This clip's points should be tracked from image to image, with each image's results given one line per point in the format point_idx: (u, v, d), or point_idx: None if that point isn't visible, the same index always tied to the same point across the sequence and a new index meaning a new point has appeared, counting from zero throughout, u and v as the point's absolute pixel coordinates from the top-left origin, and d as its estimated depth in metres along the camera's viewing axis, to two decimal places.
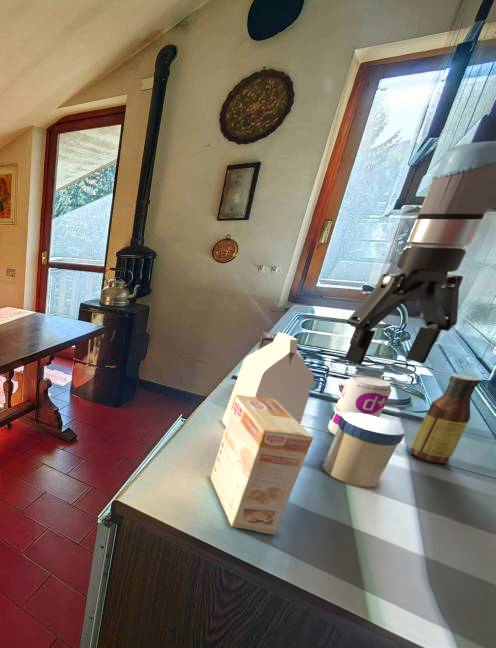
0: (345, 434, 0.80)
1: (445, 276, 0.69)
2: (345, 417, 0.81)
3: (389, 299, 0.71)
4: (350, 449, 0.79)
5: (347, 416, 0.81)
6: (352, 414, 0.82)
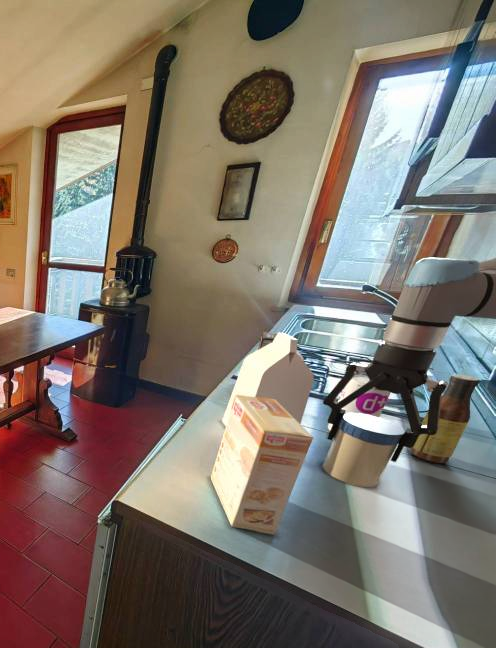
0: (345, 434, 0.80)
1: (421, 376, 0.71)
2: (345, 417, 0.81)
3: (361, 386, 0.79)
4: (350, 449, 0.79)
5: (347, 416, 0.81)
6: (352, 414, 0.82)
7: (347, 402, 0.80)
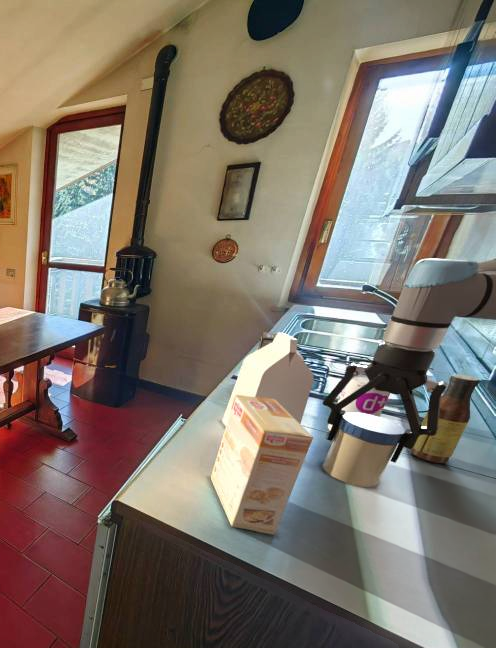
0: (345, 434, 0.80)
1: (420, 377, 0.71)
2: (369, 429, 0.76)
3: (361, 387, 0.79)
4: (350, 449, 0.79)
5: (364, 426, 0.77)
6: (354, 422, 0.79)
7: (347, 403, 0.80)
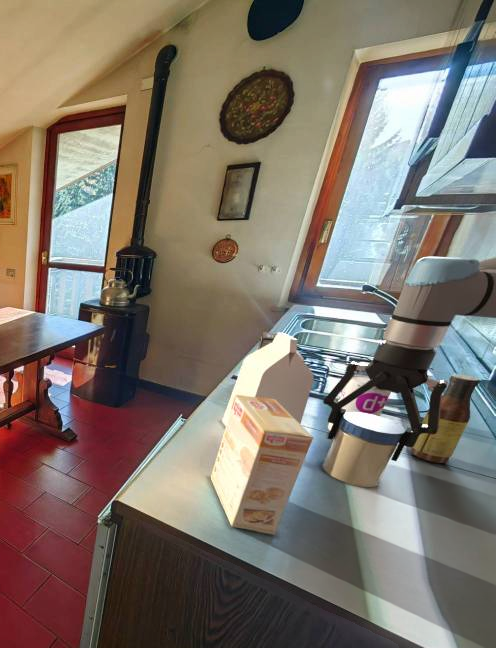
0: (345, 434, 0.80)
1: (421, 375, 0.71)
2: (400, 431, 0.75)
3: (361, 386, 0.79)
4: (350, 449, 0.79)
5: (395, 431, 0.75)
6: (385, 431, 0.75)
7: (347, 401, 0.80)
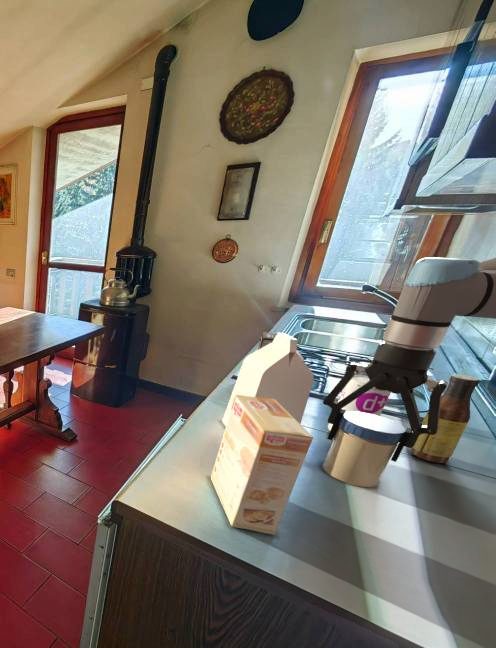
0: (345, 434, 0.80)
1: (421, 376, 0.71)
2: (389, 420, 0.79)
3: (361, 386, 0.79)
4: (350, 449, 0.79)
5: (392, 422, 0.79)
6: (398, 426, 0.77)
7: (347, 402, 0.80)
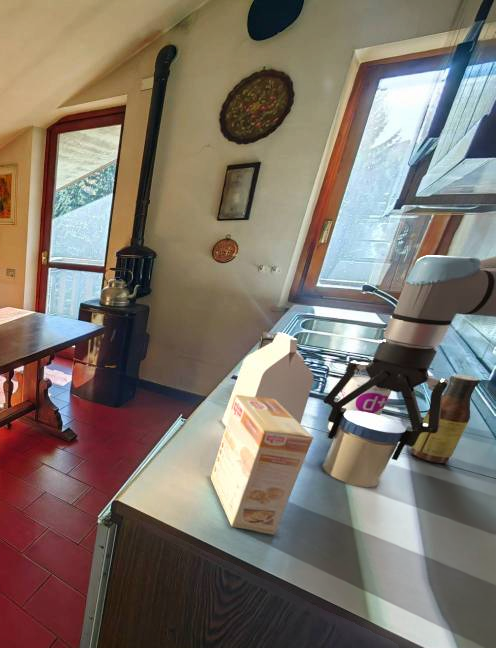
0: (345, 434, 0.80)
1: (422, 374, 0.71)
2: (356, 411, 0.82)
3: (362, 385, 0.79)
4: (350, 449, 0.79)
5: (362, 412, 0.82)
6: (374, 415, 0.81)
7: (348, 400, 0.80)
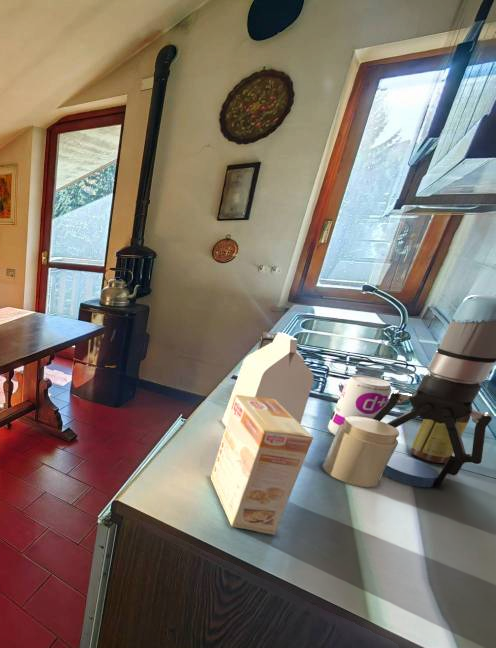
0: (345, 434, 0.80)
1: (466, 407, 0.74)
2: None
3: (404, 414, 0.82)
4: (350, 449, 0.79)
5: (395, 455, 0.87)
6: (407, 457, 0.86)
7: None
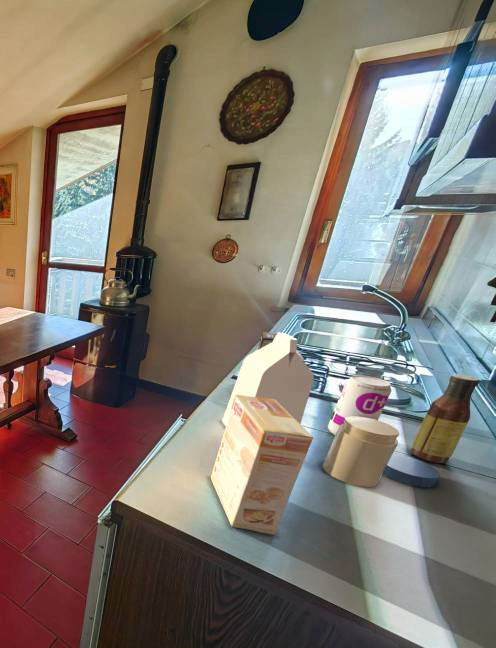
0: (345, 434, 0.80)
1: None
2: None
3: None
4: (350, 449, 0.79)
5: (395, 455, 0.87)
6: (407, 457, 0.86)
7: None
